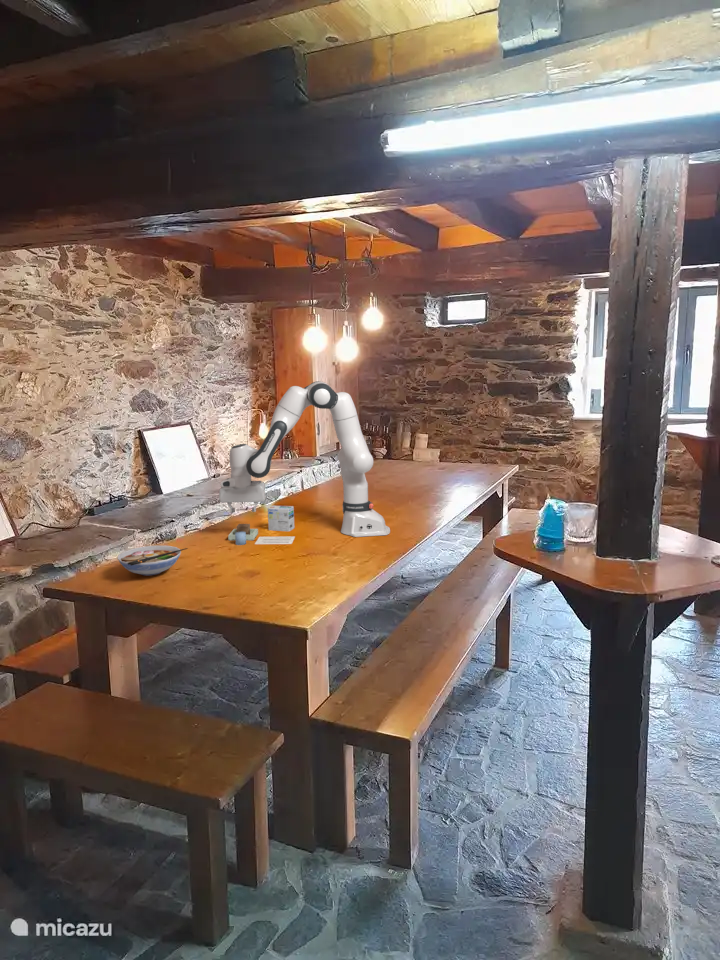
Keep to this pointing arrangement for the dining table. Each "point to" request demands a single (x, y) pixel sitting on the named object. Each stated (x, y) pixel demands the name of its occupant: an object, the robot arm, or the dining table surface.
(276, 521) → the light bulb box
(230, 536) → the tray
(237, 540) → the blue cylinder
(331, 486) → the dining table surface
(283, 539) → the letter
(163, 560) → the ramen bowl
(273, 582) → the dining table surface
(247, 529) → the walnut block
